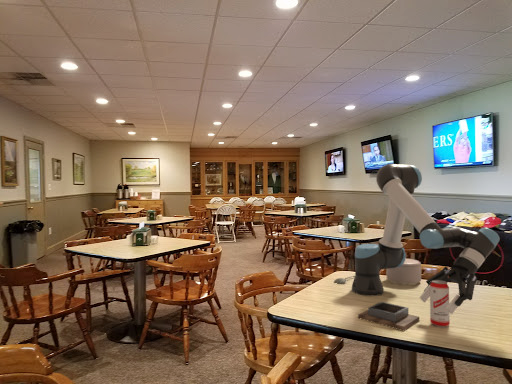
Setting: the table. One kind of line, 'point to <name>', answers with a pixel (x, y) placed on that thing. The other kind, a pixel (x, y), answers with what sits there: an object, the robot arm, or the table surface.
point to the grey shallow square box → (396, 316)
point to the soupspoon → (341, 280)
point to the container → (405, 273)
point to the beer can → (439, 303)
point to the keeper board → (400, 324)
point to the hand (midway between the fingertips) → (434, 305)
